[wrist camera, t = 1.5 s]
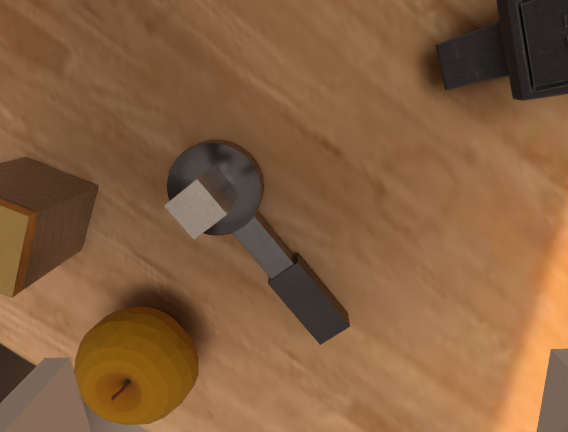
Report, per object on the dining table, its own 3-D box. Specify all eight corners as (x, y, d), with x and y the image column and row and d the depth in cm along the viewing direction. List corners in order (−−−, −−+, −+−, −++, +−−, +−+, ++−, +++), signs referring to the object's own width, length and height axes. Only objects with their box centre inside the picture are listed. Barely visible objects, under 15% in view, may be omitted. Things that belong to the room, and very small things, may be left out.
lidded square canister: (13, 223, 33) (-80, 263, 25) (26, 157, 31) (-70, 178, 23) (81, 249, 33) (12, 297, 25) (98, 185, 31) (28, 216, 23)
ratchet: (157, 176, 31) (116, 199, 24) (224, 121, 29) (199, 129, 23) (301, 342, 35) (300, 401, 28) (367, 300, 33) (382, 353, 26)
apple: (229, 316, 34) (204, 390, 26) (182, 384, 37) (145, 473, 28) (138, 264, 33) (80, 322, 25) (96, 338, 36) (31, 415, 27)
